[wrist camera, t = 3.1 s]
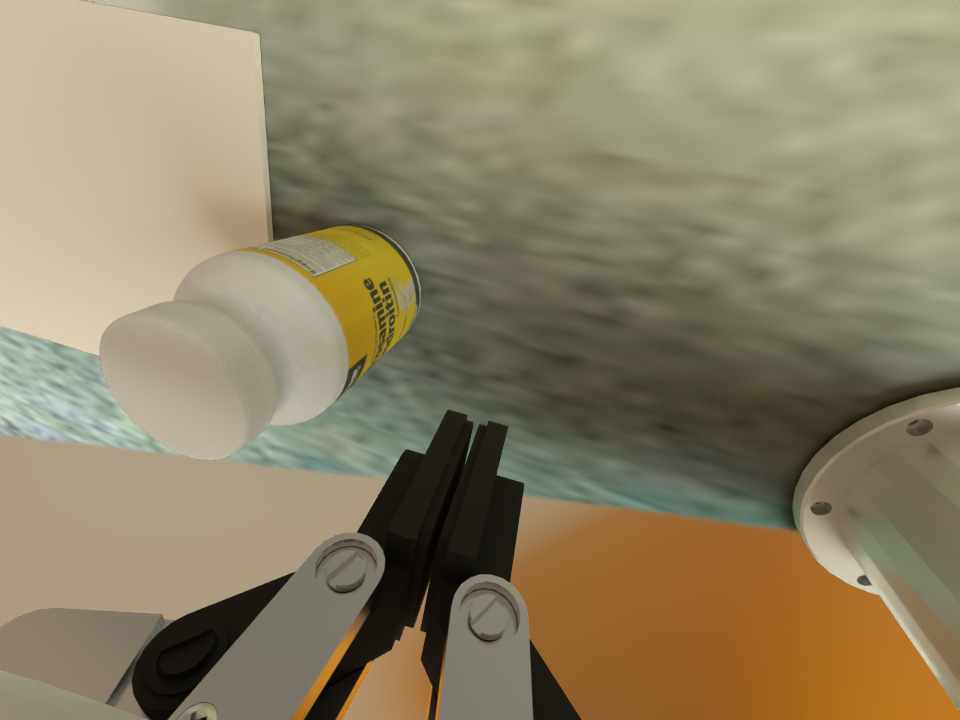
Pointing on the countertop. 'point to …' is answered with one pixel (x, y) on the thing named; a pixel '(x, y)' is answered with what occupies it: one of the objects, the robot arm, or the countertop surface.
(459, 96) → the countertop surface
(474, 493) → the robot arm
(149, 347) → the pill bottle
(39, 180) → the mat
